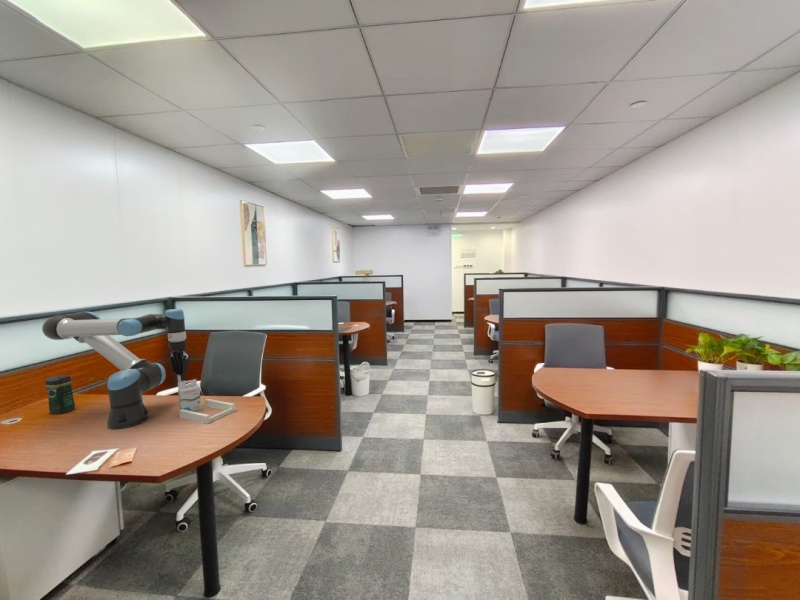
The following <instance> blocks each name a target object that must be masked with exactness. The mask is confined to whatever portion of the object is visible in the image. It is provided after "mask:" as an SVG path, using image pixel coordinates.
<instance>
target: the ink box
mask: <svg viewBox="0 0 800 600" xmlns="http://www.w3.org/2000/svg"><path fill="white" fill-rule="evenodd" d="M185 383H186V385H184V384H185ZM177 388H178V389H177V392H178V393H177V394H178V403H179V410H182V409H184V410H188V411H193V412H196V411H199V410H202V401H201V388H200V386H199V385H198V384H197V378H194V379H190V380H185V381H184V382H179V383H178V382H177Z"/></svg>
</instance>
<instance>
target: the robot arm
mask: <svg viewBox="0 0 800 600" xmlns="http://www.w3.org/2000/svg"><path fill="white" fill-rule="evenodd" d="M185 318H186V317H185V315H184V310H183V309H181V308H175V309H173V308H172V309H166V310H165V311H164V313H160V314H159V313H155V314H154V313H148V314H143V315H142V316H139V317H129V318H128V317H127V318H126V317H125V318H101V317H100V316H99V315H98V314H97V313H94V312H91V311H78V312H74V313H67V314H57V315H54V316H51V317H49V318H48V319H47V320H45V321H44V322H43V324H42V326H41V327H42V328H41V329H42V333H43V335H44V336H45V337H46V338H48V339H50V340H55V341H62V340H71V339H74V340H75V341H77V342H78V343H79V344H87V345H88V346H89V347H90V348H92V349H93V350H94V351H96V352H97V354H98V353H99V354H100V355H101V356H102V357H104V358H105V359H106V360H107V361H109V363H111V364H113V366H115V367H116V368H117V369H119V370H120V371H117V372H115V373H113V374H111V375H110V376H108V378H107V390H108V398H109V406H110V411H109V413H108V417H107V421H106V424H107V428H108V429H111V430H119V429H125V428H129V427H134V426H136V425H139V424H141V423H144V422H145V421H147V420H148V419H149V418H150V415H149V410H148V409H147V408H146V406H145V403H144V401H143V393H146V392H147V391H150V390H152V389H155V388H157V387H159V386H160V385H162V383H163V382H164V381H165V379H166V369H165V367H164V366H163V365H162V364H160V363H157V362H150V361H149V360H147V358H142V359H141V358H140V357H138V356H137V355H135V354H134V353H132V352H131V351H130V350H129V349H128V348H126V347H125V346H123V345H122V344H121V343H120V342H119V341H117V339H115V338H114V337H112V336H123V337H131V336H133V337H134V336H136V335H140V334H144V333H148V332H151V331H156V330H166V332H167V339H168V349H169V350H171V353H168V357H169V361H170V363H171V367H172V371H173V374H176V376H177V384H178V383H179V382H184V381H186V374H188V372H189V364H190V363H189V361H190V354H187V351H186V348H187V347H188V342H187V332H186V325H185V324H186V323H185ZM186 384H187V383H185V384H184V385H186Z"/></svg>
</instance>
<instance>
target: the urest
mask: <svg viewBox="0 0 800 600" xmlns="http://www.w3.org/2000/svg"><path fill="white" fill-rule="evenodd" d="M205 406H206V408H207V407H208V408H211V409H217V410H221V412H219V413H216V414H214V415H212V416H210V414H205V413H201V412H196V411H188V410H184V409H182V410H180V409H179V411H178V413H179V418H180V419H185V420H188V421H193V422H197V423H202V424H205V425H207V424H210V423H212V422H214V421H216V420H219V419H221V418H223V417H226V416H227V415H229V414H232V413H233V412H235V411H236V405H235V403H232V402H226V401H221V400H216V399H211V398H207V399H205Z"/></svg>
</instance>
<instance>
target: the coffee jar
mask: <svg viewBox="0 0 800 600" xmlns="http://www.w3.org/2000/svg"><path fill="white" fill-rule="evenodd" d="M72 385H73V380H72V377H71V375H52V376H49V377H47V378H46V380H45V387H46V390H47V398H48V410H49V413H50V414H56V415H57V414H58V415H59V414H64V413H69V412H71V411H73V410H75V409H76V404H75V403H76V402H75V399H74V395H73V394H74V393H73V388H72V387H73V386H72Z"/></svg>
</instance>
